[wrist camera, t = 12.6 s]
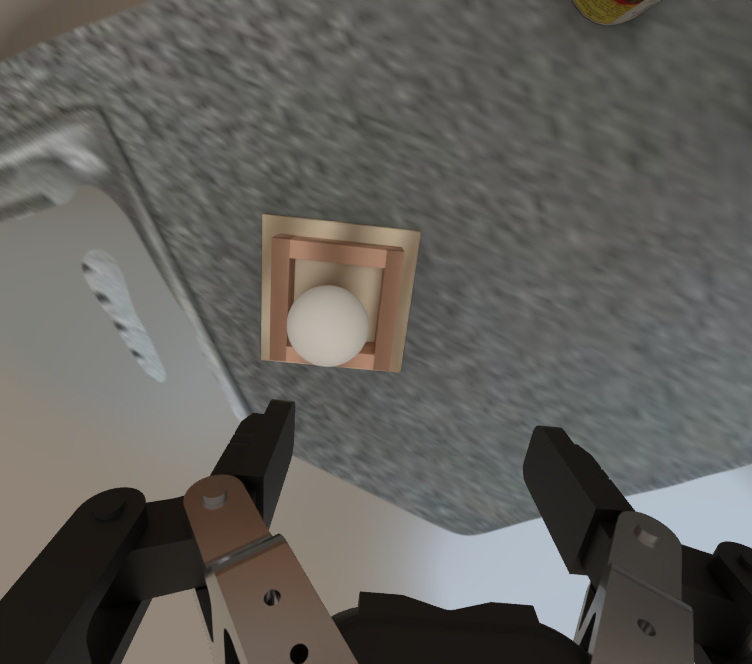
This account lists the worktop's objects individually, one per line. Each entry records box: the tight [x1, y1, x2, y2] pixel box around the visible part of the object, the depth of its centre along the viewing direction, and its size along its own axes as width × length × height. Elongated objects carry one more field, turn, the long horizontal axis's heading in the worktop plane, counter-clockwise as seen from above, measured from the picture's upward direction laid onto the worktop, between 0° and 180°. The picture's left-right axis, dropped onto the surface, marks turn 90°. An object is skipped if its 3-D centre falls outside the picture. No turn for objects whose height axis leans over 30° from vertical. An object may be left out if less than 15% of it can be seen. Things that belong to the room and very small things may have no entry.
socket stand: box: [261, 214, 421, 372], centre depth 36 cm, size 14×14×4 cm
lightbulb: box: [287, 285, 369, 367], centre depth 32 cm, size 6×6×11 cm
